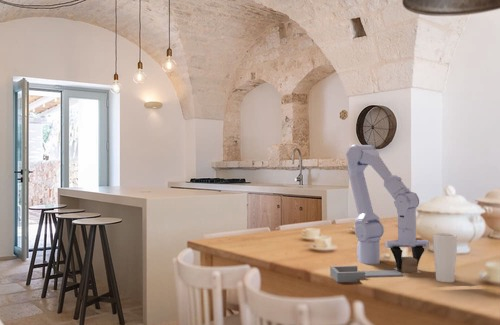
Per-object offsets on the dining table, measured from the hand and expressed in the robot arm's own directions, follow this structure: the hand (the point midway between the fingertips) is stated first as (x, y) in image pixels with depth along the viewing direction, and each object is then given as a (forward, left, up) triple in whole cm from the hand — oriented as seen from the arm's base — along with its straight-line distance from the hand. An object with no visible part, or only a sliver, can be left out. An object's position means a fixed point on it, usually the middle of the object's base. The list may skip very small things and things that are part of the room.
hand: (407, 268), depth 161 cm
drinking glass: (+14, +7, -2) cm, 15 cm away
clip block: (0, 0, -1) cm, 1 cm away
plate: (0, 0, -2) cm, 2 cm away
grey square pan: (+5, -16, -2) cm, 16 cm away
